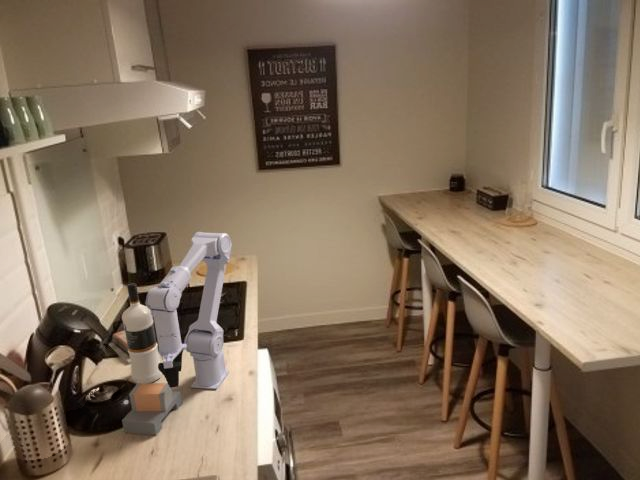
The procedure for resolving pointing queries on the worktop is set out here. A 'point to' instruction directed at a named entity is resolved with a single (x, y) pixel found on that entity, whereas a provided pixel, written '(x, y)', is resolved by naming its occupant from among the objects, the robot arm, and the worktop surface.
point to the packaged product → (120, 346)
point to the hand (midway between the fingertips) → (175, 378)
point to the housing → (151, 397)
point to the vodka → (141, 340)
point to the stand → (149, 418)
